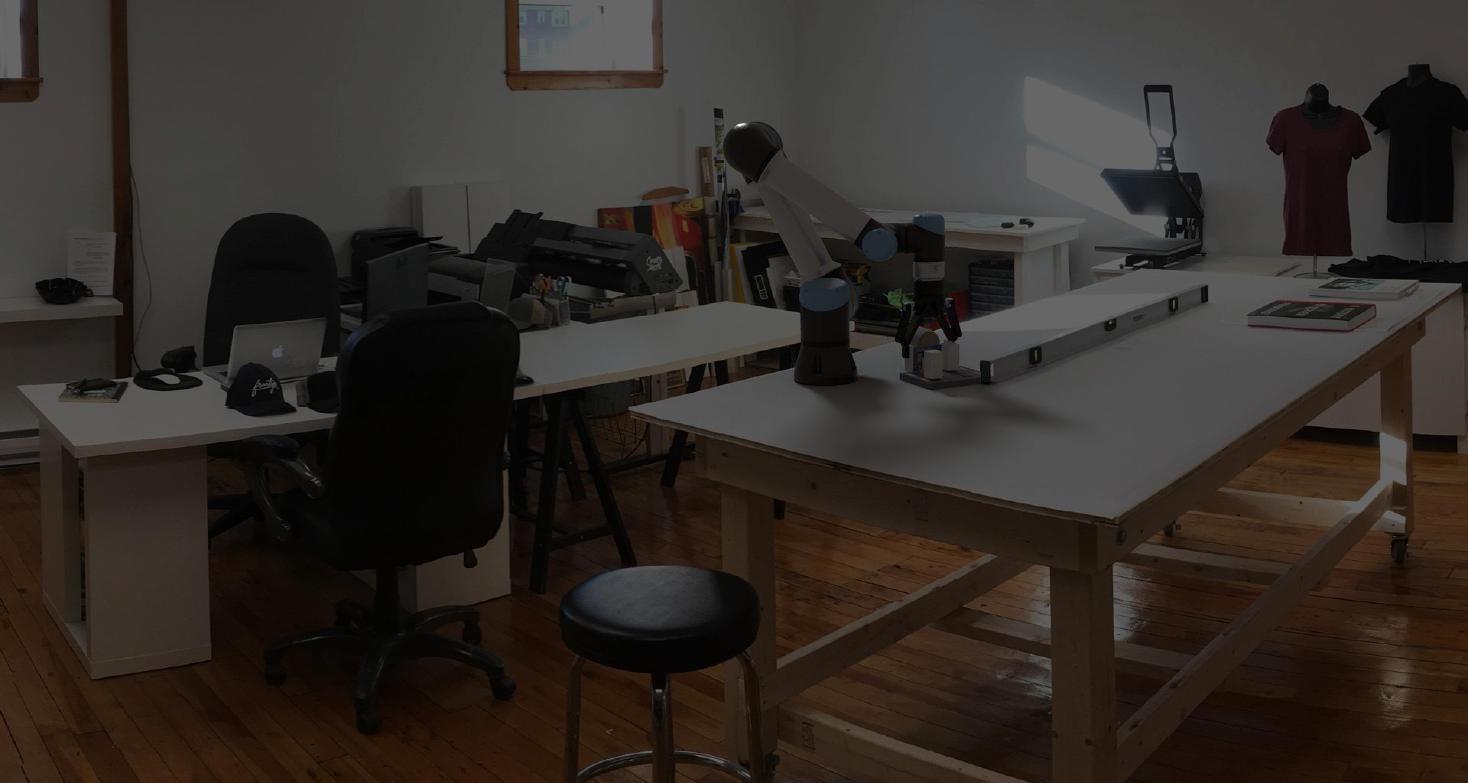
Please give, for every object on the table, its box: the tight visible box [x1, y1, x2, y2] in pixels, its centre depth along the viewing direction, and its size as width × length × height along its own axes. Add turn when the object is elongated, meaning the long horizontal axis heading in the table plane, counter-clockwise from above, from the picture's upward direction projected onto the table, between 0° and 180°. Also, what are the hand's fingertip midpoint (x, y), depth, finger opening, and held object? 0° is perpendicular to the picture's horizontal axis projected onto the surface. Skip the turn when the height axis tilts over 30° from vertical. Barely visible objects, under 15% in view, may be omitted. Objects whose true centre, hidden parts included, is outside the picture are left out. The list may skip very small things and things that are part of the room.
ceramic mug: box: [900, 325, 941, 348], centre depth 332 cm, size 11×8×8 cm
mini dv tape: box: [913, 343, 942, 371], centre depth 313 cm, size 8×2×6 cm, turn 122°
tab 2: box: [941, 342, 960, 371], centre depth 304 cm, size 3×3×6 cm
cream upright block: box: [924, 350, 942, 379], centre depth 295 cm, size 3×3×6 cm
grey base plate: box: [899, 365, 982, 391], centre depth 301 cm, size 17×14×2 cm
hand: (928, 368), depth 314 cm, fingers open, 10 cm apart
